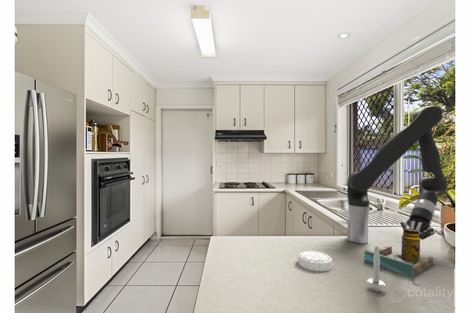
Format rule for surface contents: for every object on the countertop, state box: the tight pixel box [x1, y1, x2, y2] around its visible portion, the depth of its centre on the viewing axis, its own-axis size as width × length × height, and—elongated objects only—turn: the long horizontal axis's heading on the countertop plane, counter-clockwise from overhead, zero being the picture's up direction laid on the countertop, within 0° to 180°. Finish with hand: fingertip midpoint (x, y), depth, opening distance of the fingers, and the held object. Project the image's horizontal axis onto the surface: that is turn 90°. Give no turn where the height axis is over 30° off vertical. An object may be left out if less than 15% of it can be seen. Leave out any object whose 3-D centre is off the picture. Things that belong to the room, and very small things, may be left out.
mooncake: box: [297, 250, 333, 272], centre depth 97 cm, size 12×12×4 cm
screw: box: [366, 246, 386, 292], centre depth 79 cm, size 13×5×5 cm
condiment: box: [393, 227, 421, 264], centre depth 105 cm, size 7×8×12 cm
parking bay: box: [363, 245, 434, 278], centre depth 101 cm, size 20×16×4 cm
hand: (410, 245), depth 107 cm, fingers closed
